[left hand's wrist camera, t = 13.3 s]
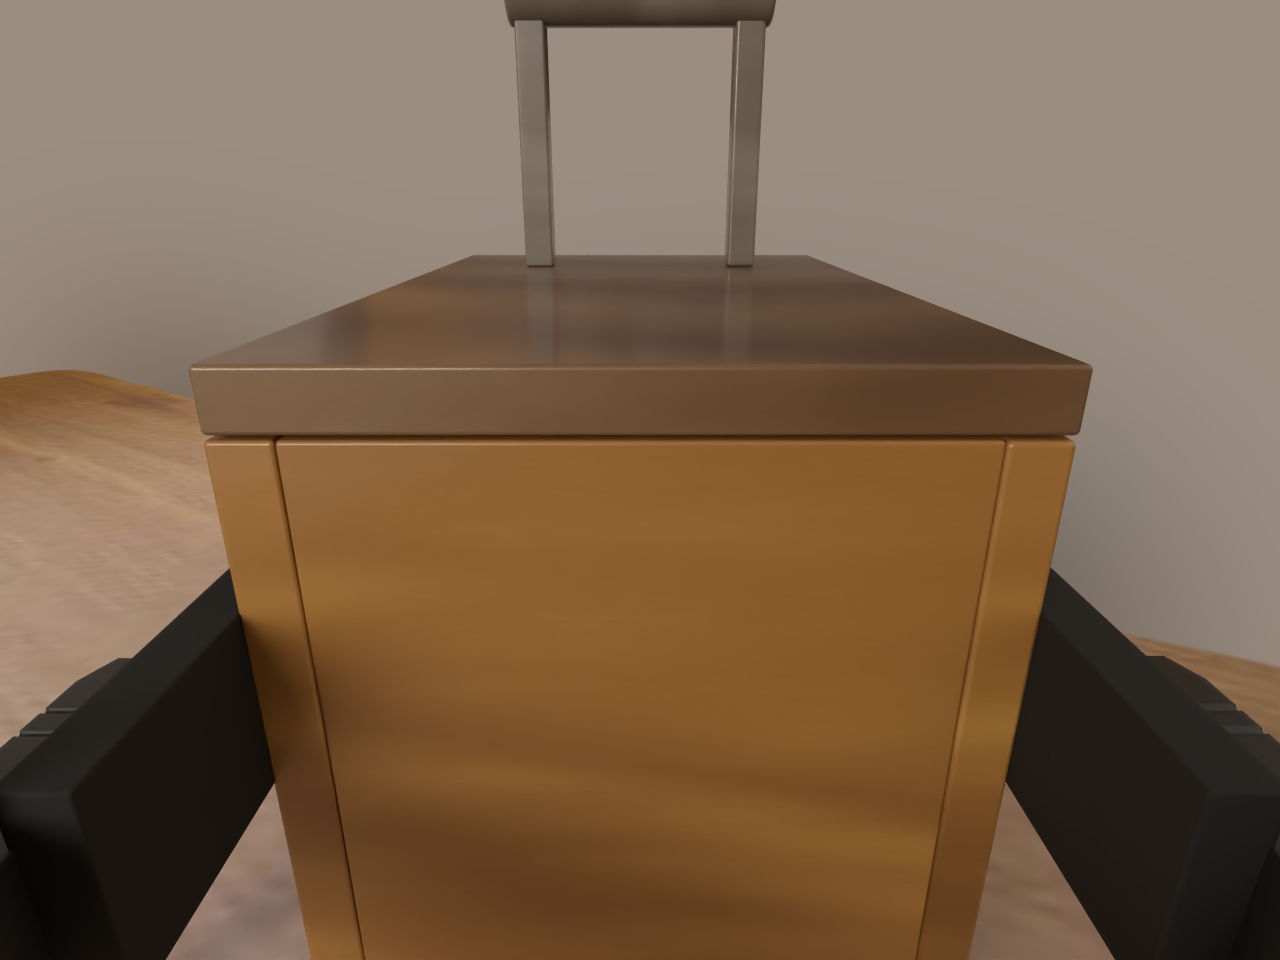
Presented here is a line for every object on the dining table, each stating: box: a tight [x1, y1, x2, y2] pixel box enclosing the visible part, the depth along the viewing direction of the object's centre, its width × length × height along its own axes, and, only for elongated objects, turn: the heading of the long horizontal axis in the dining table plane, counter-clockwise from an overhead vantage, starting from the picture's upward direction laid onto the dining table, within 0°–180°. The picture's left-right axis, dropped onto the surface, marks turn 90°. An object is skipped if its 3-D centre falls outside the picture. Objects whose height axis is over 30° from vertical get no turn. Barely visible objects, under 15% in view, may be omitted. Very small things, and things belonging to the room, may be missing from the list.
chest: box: [204, 435, 1075, 960], centre depth 18 cm, size 15×10×10 cm
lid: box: [189, 0, 1093, 435], centre depth 15 cm, size 16×10×8 cm, turn 0°
